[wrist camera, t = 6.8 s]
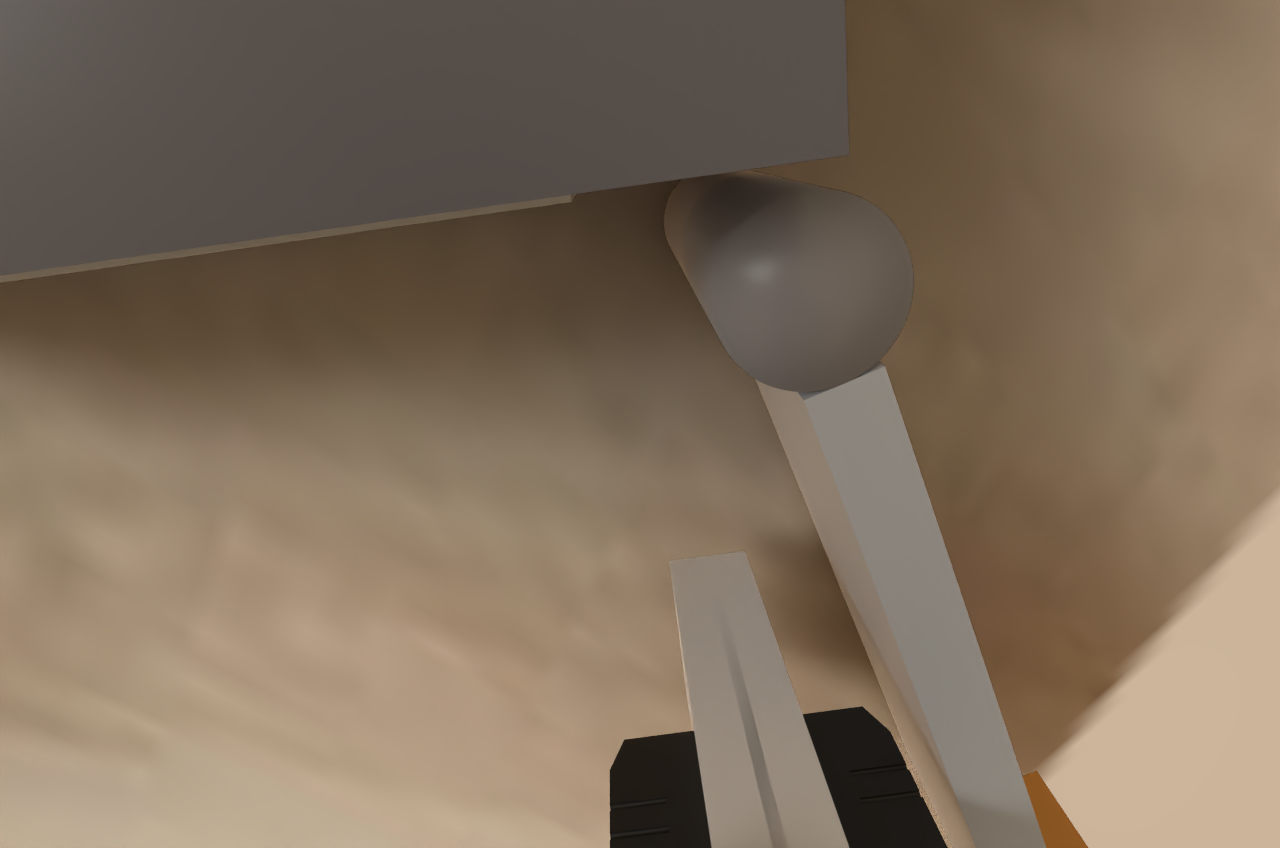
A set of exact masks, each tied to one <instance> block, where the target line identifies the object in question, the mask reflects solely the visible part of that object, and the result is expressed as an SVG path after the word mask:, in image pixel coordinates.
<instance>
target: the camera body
mask: <svg viewBox="0 0 1280 848" xmlns="http://www.w3.org/2000/svg"><path fill="white" fill-rule="evenodd" d="M848 155H849V127H848V91H847V54H846V17H845V0H0V283H4V282H11V281H18V280H25V279H32V278H39V277H46V276H53V275H60V274H67V273H74V272H81V271H88V270H95V269H102V268H110V267H117V266H124V265H131V264H138V263H145V262H152V261H159V260H166V259H173V258H180V257H187V256H194V255H201V254H208V253H216V252H223V251H230V250H237V249H244V248H251V247H258V246H265V245H272V244H279V243H286V242H293V241H300V240H307V239H314V238H321V237H329V236H336V235H343V234H350V233H357V232H364V231H371V230H378V229H385V228H392V227H399V226H406V225H413V224H420V223H427V222H435V221H442V220H449V219H456V218H463V217H470V216H477V215H484V214H491V213H498V212H505V211H512V210H519V209H526V208H533V207H541V206H548V205H555V204H562V203H569V202H572V200H573V199H574V197H575V196H576V194H580V193H587V192H594V191H601V190H608V189H615V188H622V187H629V186H636V185H643V184H650V183H657V182H664V181H671V180H678V179H685V178H692V177H700V176H707V175H714V174H721V173H728V172H735V171H742V170H749V169H756V168H763V167H770V166H777V165H784V164H791V163H798V162H805V161H812V160H819V159H827V158H834V157H841V156H848Z"/></svg>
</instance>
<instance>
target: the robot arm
mask: <svg viewBox="0 0 1280 848" xmlns="http://www.w3.org/2000/svg"><path fill="white" fill-rule="evenodd" d="M669 563H670V571H671V579H672V586H673V594H674V602H675V610H676V618H677V625H678V633H679V641H680V649H681V657H682V664H683V672H684V680H685V688H686V694H687V701H688V708H689V715H690V722H691V728H692V731H688V732H681V733H673V734H665V735H658V736H650V737H642V738H635V739H627V740H624V742H623V744H622V746H621V748H620V750H619V752H618V754H617V756H616V759H615V761H614V763H613V765H612V767H611V769H610V809H611V811H610V836H611V840H610V848H947V846H946V844H945V842H944V840H943V838H942V836H941V834H940V832H939V830H938V827H937V825H936V823H935V821H934V819H933V817H932V815H931V813H930V811H929V809H928V807H927V805H926V803H925V801H924V799H923V797H921V796H920V793H919V789H918V787H917V785H916V783H915V781H914V779H913V777H912V775H911V773H910V771H909V770H907V767H906V763H905V761H904V759H903V757H902V755H901V753H900V751H899V749H898V747H897V745H896V743H895V741H894V739H893V737H892V735H891V732H890V731H889V730H888V729H887V728H886V727H884V726H883V725H882V724H881V723H880V722H879V721H878V720H877V719H875V718H874V717H873V716H872V715H871V714H870V713H869V712H868V711H867V710H865V709H864V708H863V707H855V708H847V709H840V710H832V711H824V712H817V713H809V714H802V712H801V709H800V706H799V703H798V700H797V698H796V695H795V692H794V689H793V686H792V683H791V680H790V678H789V675H788V672H787V669H786V666H785V663H784V661H783V658H782V655H781V652H780V649H779V646H778V644H777V641H776V638H775V635H774V632H773V629H772V627H771V624H770V621H769V618H768V615H767V612H766V609H765V607H764V604H763V601H762V598H761V595H760V592H759V590H758V587H757V584H756V581H755V578H754V575H753V573H752V570H751V567H750V564H749V561H748V558H747V556H746V553H745V551H740V552H733V553H725V554H718V555H709V556H702V557H694V558H686V559H679V560H671V561H669Z"/></svg>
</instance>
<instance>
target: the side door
mask: <svg viewBox="0 0 1280 848" xmlns="http://www.w3.org/2000/svg"><path fill="white" fill-rule="evenodd" d="M664 230H665V235H666V238H667V241H668V243H669V245H670V247H671V249H672V251H673V253H674V255H675V257H676V259H677V261H678V263H679V264H680V266H681V268H682V270H683V272H684V274H685V276H686V278H687V279H688V281H689V283H690V285H691V287H692V289H693V291H694V293H695V294H696V296H697V298H698V300H699V302H700V304H701V306H702V308H703V309H704V311H705V313H706V315H707V317H708V319H709V321H710V323H711V324H712V326H713V328H714V330H715V332H716V334H717V336H718V338H719V339H720V341H721V343H722V345H723V347H724V349H725V350H726V352H727V353H728V354H729V356H730V357H731V359H732V360H733V361H734V362H735V363H736V364H737V365H738V366H739V367H740V368H741V369H742V370H743V371H745V372H746V373H747V374H748V375H750V376H751V377H753V378H754V379H755V380H756V382H757V385H758V387H759V390H760V392H761V394H762V397H763V399H764V402H765V404H766V407H767V409H768V412H769V414H770V417H771V419H772V421H773V424H774V426H775V429H776V431H777V434H778V436H779V439H780V441H781V444H782V446H783V449H784V451H785V453H786V456H787V458H788V461H789V463H790V466H791V468H792V471H793V473H794V476H795V478H796V481H797V483H798V485H799V488H800V490H801V493H802V495H803V498H804V500H805V503H806V505H807V508H808V510H809V512H810V515H811V517H812V520H813V522H814V525H815V527H816V530H817V532H818V535H819V537H820V540H821V542H822V544H823V547H824V549H825V552H826V554H827V557H828V559H829V562H830V564H831V567H832V569H833V571H834V574H835V576H836V579H837V581H838V584H839V586H840V589H841V591H842V594H843V596H844V599H845V601H846V603H847V606H848V608H849V611H850V613H851V616H852V618H853V621H854V623H855V626H856V628H857V631H858V633H859V635H860V638H861V640H862V643H863V645H864V648H865V650H866V653H867V655H868V658H869V660H870V662H871V665H872V667H873V670H874V672H875V675H876V677H877V680H878V682H879V685H880V687H881V690H882V692H883V694H884V697H885V699H886V702H887V704H888V707H889V709H890V712H891V714H892V717H893V719H894V722H895V724H896V726H897V729H898V731H899V734H900V736H901V739H902V741H903V744H904V746H905V749H906V751H907V753H908V755H909V757H910V760H911V762H912V764H913V766H914V768H915V770H916V772H917V774H918V776H919V778H920V780H921V782H922V785H923V787H924V789H925V791H926V793H927V795H928V797H929V799H930V801H931V803H932V805H933V807H934V810H935V812H936V814H937V816H938V818H939V820H940V822H941V824H942V826H943V828H944V830H945V832H946V835H947V837H948V839H949V841H950V843H951V845H952V847H953V848H1088V847H1087V845H1086V844H1085V842H1084V841H1083V839H1082V838H1081V836H1080V835H1079V833H1078V832H1077V831H1076V829H1075V828H1074V826H1073V825H1072V823H1071V822H1070V820H1069V818H1068V817H1067V815H1066V814H1065V813H1064V811H1063V809H1062V808H1061V806H1060V805H1059V804H1058V802H1057V801H1056V799H1055V798H1054V796H1053V795H1052V793H1051V792H1050V791H1049V789H1048V787H1047V786H1046V784H1045V783H1044V781H1043V780H1042V778H1041V777H1040V775H1039V774H1038V772H1037V771H1035V772H1033V773H1030V774H1027V775H1024V776H1022V774H1021V771H1020V768H1019V765H1018V762H1017V759H1016V756H1015V753H1014V750H1013V747H1012V744H1011V741H1010V738H1009V735H1008V732H1007V729H1006V726H1005V723H1004V720H1003V717H1002V714H1001V711H1000V708H999V705H998V702H997V699H996V696H995V693H994V690H993V687H992V684H991V681H990V678H989V675H988V672H987V669H986V666H985V663H984V660H983V657H982V654H981V651H980V648H979V645H978V642H977V639H976V636H975V633H974V630H973V627H972V624H971V621H970V618H969V615H968V612H967V609H966V606H965V603H964V600H963V597H962V594H961V591H960V588H959V585H958V582H957V579H956V576H955V573H954V570H953V567H952V564H951V561H950V558H949V555H948V552H947V549H946V546H945V543H944V540H943V537H942V534H941V531H940V528H939V525H938V523H937V520H936V517H935V514H934V511H933V508H932V505H931V502H930V499H929V496H928V493H927V490H926V487H925V484H924V481H923V478H922V475H921V472H920V469H919V466H918V463H917V460H916V457H915V454H914V451H913V448H912V445H911V442H910V439H909V436H908V433H907V430H906V427H905V424H904V421H903V418H902V415H901V412H900V409H899V406H898V403H897V400H896V397H895V394H894V391H893V388H892V385H891V382H890V379H889V376H888V373H887V370H886V367H885V366H884V365H883V364H882V363H881V362H879V360H880V359H881V358H882V357H883V356H884V355H885V354H886V353H887V352H888V350H889V349H890V348H891V346H892V345H893V344H894V342H895V341H896V339H897V337H898V336H899V334H900V332H901V331H902V329H903V326H904V324H905V322H906V320H907V317H908V314H909V310H910V307H911V302H912V297H913V287H914V275H913V265H912V261H911V256H910V253H909V250H908V247H907V245H906V242H905V240H904V238H903V236H902V235H901V233H900V231H899V229H898V228H897V227H896V225H895V224H894V223H893V221H892V220H891V219H890V218H889V217H888V216H887V215H886V214H885V213H884V212H883V211H882V210H881V209H879V208H878V207H876V206H875V205H874V204H872V203H871V202H869V201H867V200H865V199H863V198H861V197H859V196H856V195H853V194H850V193H847V192H843V191H839V190H834V189H830V188H825V187H821V186H817V185H812V184H808V183H803V182H799V181H794V180H790V179H785V178H781V177H777V176H772V175H768V174H763V173H759V172H754V171H750V170H742V171H735V172H728V173H721V174H714V175H707V176H700V177H692V178H685V179H682V180H681V181H680V182H679V183H678V184H677V185H676V187H675V188H674V189H673V191H672V193H671V194H670V197H669V199H668V201H667V204H666V207H665V213H664Z"/></svg>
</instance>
